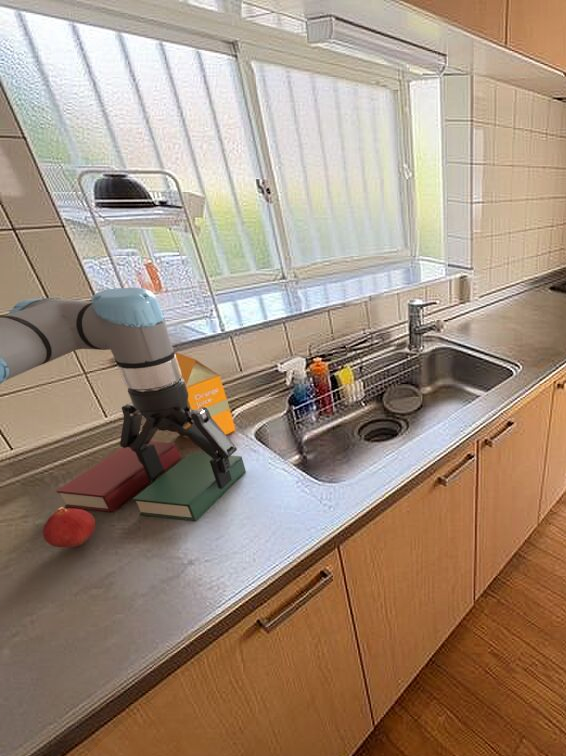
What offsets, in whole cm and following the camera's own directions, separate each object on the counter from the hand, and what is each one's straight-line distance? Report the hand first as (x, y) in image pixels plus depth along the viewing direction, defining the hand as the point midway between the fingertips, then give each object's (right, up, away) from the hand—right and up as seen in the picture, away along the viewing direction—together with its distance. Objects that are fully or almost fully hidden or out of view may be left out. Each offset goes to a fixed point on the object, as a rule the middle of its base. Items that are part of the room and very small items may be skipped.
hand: (191, 480), depth 80 cm
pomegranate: (-10, -8, -11) cm, 17 cm away
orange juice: (-10, +7, +19) cm, 23 cm away
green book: (0, -3, +1) cm, 3 cm away
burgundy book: (-15, -1, +3) cm, 15 cm away
